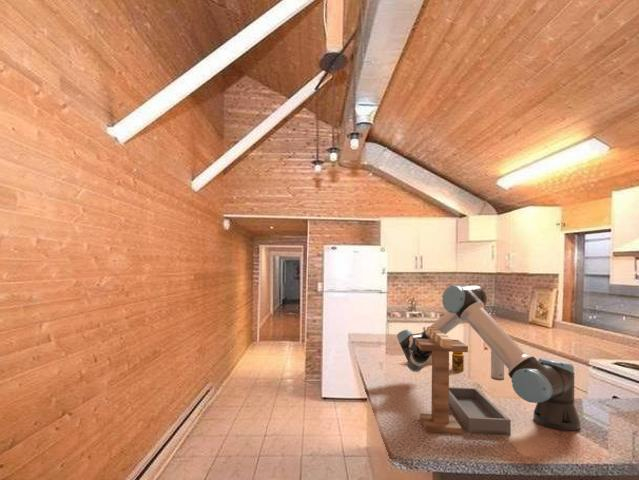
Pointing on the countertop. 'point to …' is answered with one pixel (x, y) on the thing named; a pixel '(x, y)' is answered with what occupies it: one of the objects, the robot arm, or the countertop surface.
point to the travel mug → (496, 367)
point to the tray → (478, 412)
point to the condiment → (457, 362)
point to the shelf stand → (440, 387)
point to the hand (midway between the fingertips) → (428, 339)
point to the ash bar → (439, 337)
